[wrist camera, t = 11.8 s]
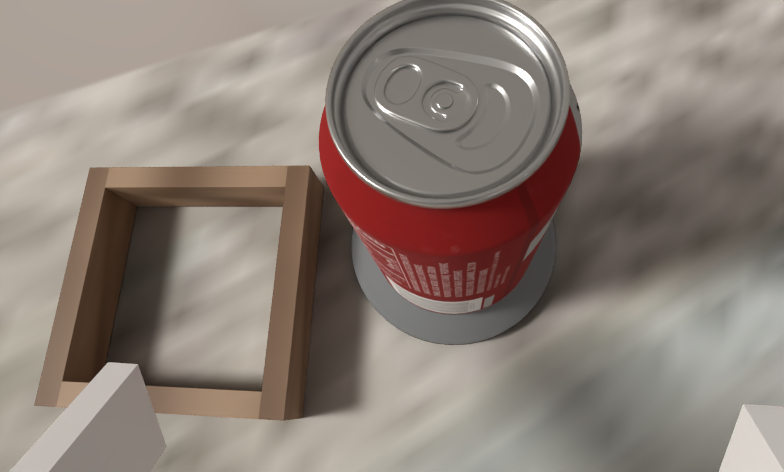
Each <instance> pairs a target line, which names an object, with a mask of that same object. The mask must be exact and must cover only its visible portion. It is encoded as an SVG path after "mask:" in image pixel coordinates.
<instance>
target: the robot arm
mask: <svg viewBox="0 0 784 472" xmlns="http://www.w3.org/2000/svg"><path fill="white" fill-rule="evenodd" d="M165 448H166V444H165V441H164V438H163V435H162V432H161V429H160V426H159V423H158V421H157V418H156V415H155V412H154V409H153V406H152V403H151V400H150V398H149V395H148V392H147V389H146V386H145V383H144V380H143V377H142V375H141V372H140V369H139V366H138V364H127V363H112V362H108V363H107V364H106V365H105V366H104V367H103V369H102V370H101V371H100V372H99V373H98V374H97V375H96V376H95V377H94V378H93V380H92V381H91V382H90V383H89V384H88V385H87V386H86V387H85V388H84V389H83V391H82V392H81V393H80V394H79V395H78V396H77V397H76V398H75V399H74V400H73V402H72V403H71V404H70V405H69V406H68V407H67V408H66V409H65V410H64V412H63V413H62V414H61V415H60V416H59V417H58V418H57V419H56V420H55V421H54V423H53V424H52V425H51V426H50V427H49V428H48V429H47V430H46V431H45V432H44V434H43V435H42V436H41V437H40V438H39V439H38V440H37V441H36V442H35V444H34V445H33V446H32V447H31V448H30V449H29V450H28V451H27V452H26V453H25V455H24V456H23V457H22V458H21V459H20V460H19V461H18V462H17V463H16V464H15V466H14V467H13V468H12V469H11V470H10V471H9V472H150V471H151V470H152V468H153V467H154V465H155V463H156V462H157V460H158V459H159V457H160V456H161V454H162V452H163V451H164V449H165ZM719 472H784V407H782V406H767V405H752V404H743V406H742V409H741V412H740V414H739V417H738V420H737V423H736V425H735V428H734V431H733V434H732V436H731V439H730V442H729V445H728V447H727V450H726V453H725V456H724V458H723V461H722V464H721V467H720V469H719Z"/></svg>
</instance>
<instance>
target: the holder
mask: <svg viewBox="0 0 784 472" xmlns="http://www.w3.org/2000/svg"><path fill="white" fill-rule="evenodd" d="M323 191H324V187H323V185H322V184H321V182H320V181H319V179H318V178H317V176H316V175H315V173H314V172H313V170H312V168H311V167H310V166H217V167H109V168H90V169H89V174H88V178H87V182H86V186H85V191H84V195H83V199H82V204H81V208H80V212H79V216H78V221H77V225H76V229H75V233H74V238H73V242H72V246H71V251H70V255H69V259H68V263H67V268H66V272H65V276H64V280H63V285H62V289H61V293H60V298H59V302H58V306H57V310H56V315H55V319H54V323H53V327H52V332H51V336H50V340H49V345H48V349H47V353H46V357H45V362H44V366H43V370H42V374H41V379H40V383H39V387H38V391H37V396H36V400H35V404H34V406H48V407H65V408H67V407H68V406H69V405H70V404H71V403H72V402H73V400H74V399H75V398H76V397H77V396H78V395H79V394H80V393H81V392H82V391H83V389H84V388H85V387H86V386H87V385H88V384H89V383H90V382H91V381H92V380H93V378H94V377H95V376H96V375H97V374H98V373H99V372H100V371H101V370H102V369H103V367H104V366H105V364H106V359H107V354H108V349H109V344H110V339H111V334H112V329H113V324H114V319H115V314H116V309H117V304H118V299H119V294H120V289H121V284H122V279H123V274H124V269H125V264H126V259H127V254H128V249H129V244H130V239H131V234H132V229H133V224H134V219H135V214H136V209H137V206H247V207H283V211H282V220H281V228H280V237H279V246H278V254H277V263H276V271H275V280H274V289H273V297H272V306H271V315H270V323H269V332H268V341H267V349H266V358H265V367H264V375H263V384H262V391H245V390H226V389H206V388H187V387H168V386H149V385H145V386H146V389H147V392H148V395H149V398H150V400H151V403H152V406H153V409H154V412H155V413H166V414H183V415H199V416H216V417H233V418H250V419H267V420H283V421H284V420H291V419H299V418H303V407H304V396H305V385H306V375H307V364H308V353H309V342H310V331H311V321H312V310H313V299H314V288H315V278H316V267H317V256H318V245H319V234H320V224H321V213H322V202H323Z"/></svg>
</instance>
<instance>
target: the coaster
mask: <svg viewBox="0 0 784 472" xmlns="http://www.w3.org/2000/svg"><path fill="white" fill-rule="evenodd" d="M555 257H556V235H555V228H554V224H553V220H552V221H551V223H550V225H549V227H548V229H547V231H546V233H545V235H544V237H543V239H542V241H541V243H540V245H539V247H538V249H537V251H536V253H535V255H534V256H533V258H532V260H531V262H530V264H529V266H528V268H527V270H526V272H525V274H524V276H523V278H522V279H521V280H520V282H519V283H518V285H517V286H516V287H515V288H514V289H513V290H512V291H511V292H510V293H509V294H508V295H507V296H506V297H505V298H503V299H502V300H501V301H499V302H497V303H496V304H494V305H492V306H490V307H488V308H486V309H483V310H481V311H478V312H474V313H469V314H463V315H445V314H438V313H434V312H430V311H427V310H424V309H422V308H419V307H417V306H415V305H413V304H412V303H410V302H409V301H407V300H406V299H404V298H403V297H402V296H401V295H400V294H398V293H397V292H396V291H395V290H394V288H393V287H392V286H391V285H390V284H389V282H388V281H387V279H386V278H385V276H384V275H383V273H382V272H381V270H380V269H379V267H378V265H377V264H376V262H375V261H374V259H373V258H372V256H371V254H370V253H369V251H368V250H367V248H366V247H365V245H364V243H363V242H362V240H361V239H360V237H359V236H358V234H357V232H356V231H355V229H354V228H353V233H352V259H353V266H354V269H355V273H356V277H357V279H358V281H359V284H360V286H361V289H362V290H363V292H364V294H365V295H366V297H367V299H368V300H369V301H370V303H371V304H372V305H373V307H374V308H375V309H376V310H377V311H378V312H379V313H380V314H381V315H382V316H383V317H384V318H385V319H386V320H387V321H388V322H390V323H391V324H392V325H394V326H395V327H396V328H398V329H399V330H401V331H403V332H405V333H407V334H408V335H410V336H413V337H415V338H418V339H421V340H424V341H428V342H432V343H436V344H445V345H464V344H470V343H476V342H480V341H483V340H487V339H490V338H492V337H495V336H497V335H499V334H501V333H503V332H505V331H506V330H508V329H510V328H511V327H513V326H514V325H516V324H517V323H518V322H519V321H520V320H522V319H523V318H524V317H525V316H526V315H527V314H528V313H529V312H530V310H531V309H532V308H533V307H534V306H535V305H536V303H537V302H538V300H539V299H540V297H541V296H542V294H543V293H544V291H545V289H546V287H547V285H548V283H549V281H550V278H551V274H552V271H553V268H554V263H555Z"/></svg>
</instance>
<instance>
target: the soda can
mask: <svg viewBox="0 0 784 472" xmlns="http://www.w3.org/2000/svg"><path fill="white" fill-rule="evenodd" d="M581 145H582V123H581V116H580V110H579V106H578V103H577V99H576V96H575V94H574V92H573V89H572V87H571V85H570V83H569V77H568V71H567V68H566V64H565V61H564V59H563V56H562V54H561V52H560V50H559V48H558V46H557V45H556V43H555V41H554V40H553V38H552V37H551V36H550V34H549V33H548V32H547V31H546V30H545V28H544V27H543V26H542V25H541V24H540V23H539V22H537V21H536V20H535V19H534V18H533V17H532V16H530V15H529V14H528V13H526V12H525V11H523V10H521V9H520V8H518V7H516V6H515V5H512V4H510V3H508V2H506V1H504V0H403V1H400V2H398V3H395V4H393V5H391V6H389V7H387V8H386V9H384V10H382V11H380V12H379V13H377V14H376V15H374V16H373V17H372V18H370V19H369V20H368V21H366V22H365V23H364V24H363V25H362V26H361V27H360V28H359V29H358V30H357V31H356V32H355V33H354V34H353V35H352V36H351V37H350V38H349V40H348V41H347V42H346V44H345V45H344V46H343V48H342V49H341V51H340V53H339V54H338V56H337V58H336V60H335V62H334V65H333V67H332V69H331V72H330V75H329V79H328V83H327V88H326V98H325V107H324V110H323V113H322V118H321V123H320V131H319V152H320V161H321V165H322V169H323V173H324V176H325V179H326V182H327V184H328V186H329V188H330V190H331V192H332V194H333V196H334V198H335V199H336V201H337V203H338V204H339V206H340V207H341V209H342V211H343V212H344V214H345V215H346V217H347V218H348V220H349V221H350V223H351V225H352V226H353V228H354V229H355V231H356V232H357V234H358V236H359V237H360V239H361V240H362V242H363V243H364V245H365V247H366V248H367V250H368V251H369V253H370V254H371V256H372V258H373V259H374V261H375V262H376V264H377V265H378V267H379V269H380V270H381V272H382V273H383V275H384V276H385V278H386V279H387V281H388V282H389V284H390V285H391V286H392V287H393V288H394V290H395V291H396V292H397V293H398V294H400V295H401V296H402V297H403V298H404V299H406V300H407V301H409V302H410V303H412V304H413V305H415V306H417V307H419V308H422V309H424V310H427V311H430V312H434V313H438V314H445V315H463V314H469V313H474V312H478V311H481V310H483V309H486V308H488V307H490V306H492V305H494V304H496V303H497V302H499V301H501V300H502V299H503V298H505V297H506V296H507V295H508V294H509V293H510V292H511V291H512V290H513V289H514V288H515V287H516V286H517V285H518V283H519V282H520V280H521V279H522V278H523V276H524V274H525V272H526V270H527V268H528V266H529V264H530V262H531V260H532V258H533V256H534V255H535V253H536V251H537V249H538V247H539V245H540V243H541V241H542V239H543V237H544V235H545V233H546V231H547V229H548V227H549V225H550V223H551V221H552V219H553V217H554V215H555V213H556V211H557V209H558V207H559V205H560V203H561V201H562V199H563V197H564V195H565V193H566V191H567V189H568V187H569V185H570V183H571V181H572V179H573V176H574V174H575V171H576V168H577V165H578V161H579V157H580V151H581Z"/></svg>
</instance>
